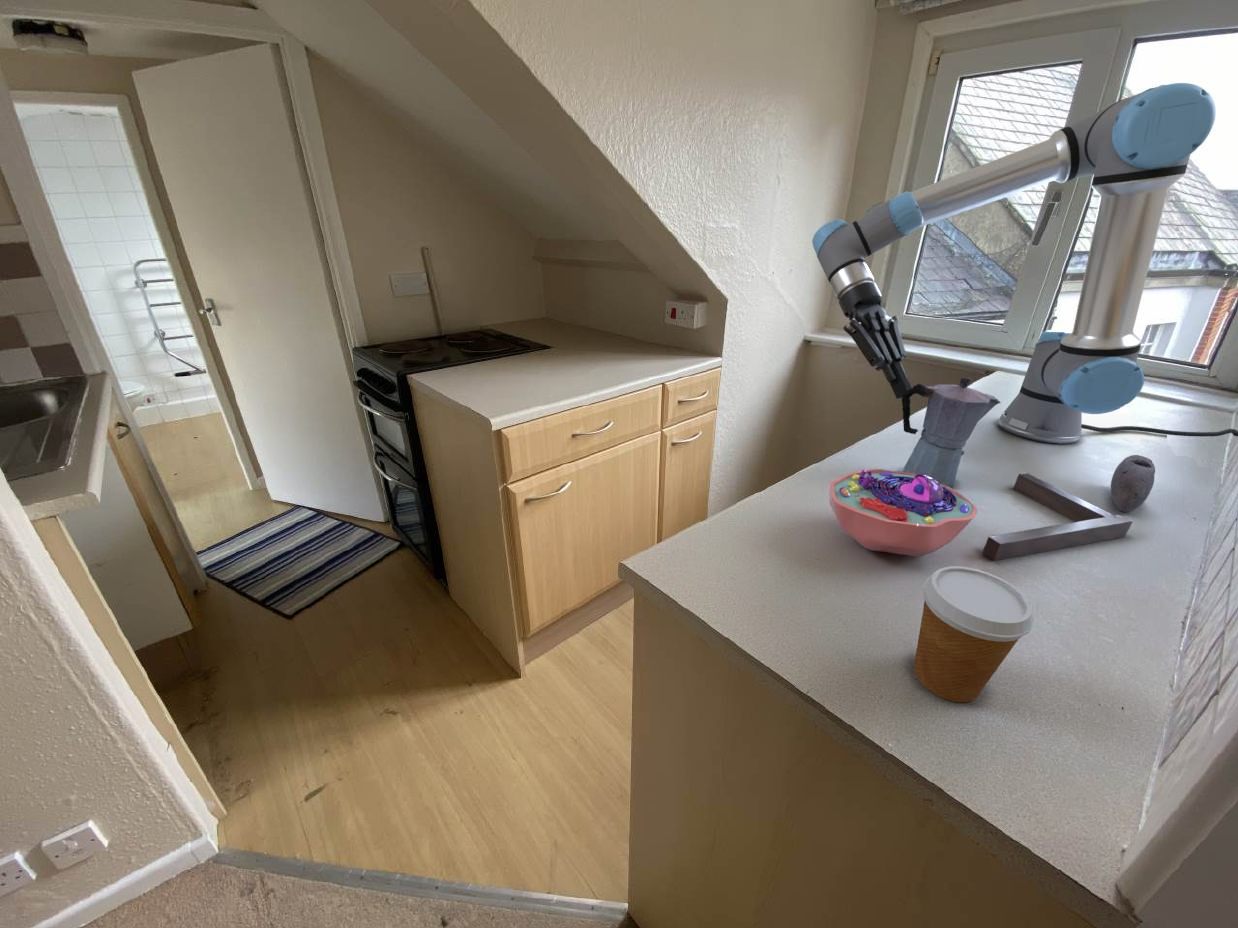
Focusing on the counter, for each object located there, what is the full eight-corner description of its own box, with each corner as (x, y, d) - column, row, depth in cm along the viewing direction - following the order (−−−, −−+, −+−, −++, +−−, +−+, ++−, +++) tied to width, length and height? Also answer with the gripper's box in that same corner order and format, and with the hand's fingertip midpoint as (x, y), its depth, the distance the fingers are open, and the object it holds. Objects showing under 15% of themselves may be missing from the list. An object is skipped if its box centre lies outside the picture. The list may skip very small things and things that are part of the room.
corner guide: (1025, 486, 98) (1031, 472, 97) (1124, 537, 84) (1133, 521, 82) (908, 503, 92) (913, 488, 91) (993, 560, 77) (1000, 544, 76)
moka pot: (980, 495, 95) (1019, 389, 86) (888, 486, 98) (917, 382, 89) (960, 472, 103) (994, 372, 94) (877, 464, 106) (902, 366, 97)
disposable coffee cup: (881, 647, 62) (907, 564, 57) (959, 644, 62) (993, 562, 57) (928, 718, 53) (964, 628, 48) (1018, 714, 54) (1064, 625, 49)
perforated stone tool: (1139, 523, 87) (1158, 486, 84) (1098, 511, 90) (1115, 475, 87) (1145, 492, 97) (1162, 458, 94) (1108, 482, 100) (1124, 449, 97)
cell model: (805, 511, 89) (817, 450, 84) (925, 514, 89) (944, 453, 84) (839, 574, 74) (857, 504, 69) (984, 578, 74) (1012, 509, 69)
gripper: (866, 301, 113) (912, 399, 107) (819, 304, 108) (866, 408, 102) (893, 278, 106) (944, 382, 100) (845, 281, 101) (896, 390, 95)
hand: (905, 395), depth 101 cm, fingers closed
